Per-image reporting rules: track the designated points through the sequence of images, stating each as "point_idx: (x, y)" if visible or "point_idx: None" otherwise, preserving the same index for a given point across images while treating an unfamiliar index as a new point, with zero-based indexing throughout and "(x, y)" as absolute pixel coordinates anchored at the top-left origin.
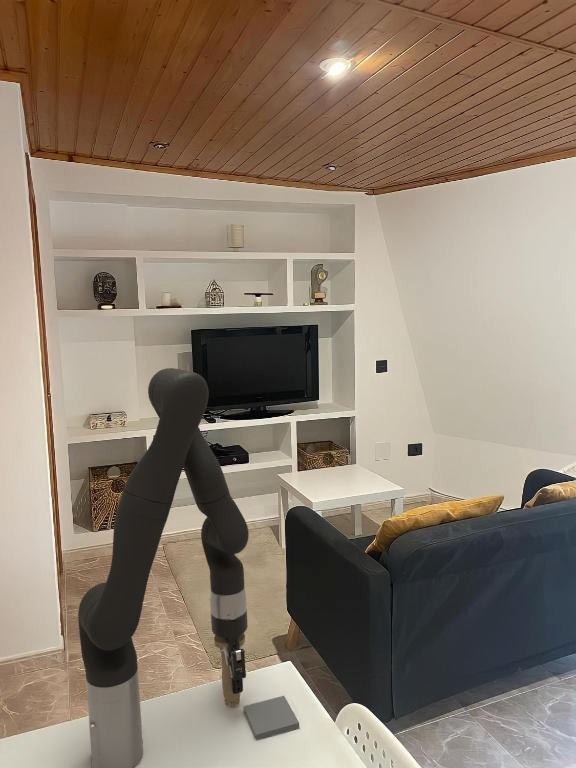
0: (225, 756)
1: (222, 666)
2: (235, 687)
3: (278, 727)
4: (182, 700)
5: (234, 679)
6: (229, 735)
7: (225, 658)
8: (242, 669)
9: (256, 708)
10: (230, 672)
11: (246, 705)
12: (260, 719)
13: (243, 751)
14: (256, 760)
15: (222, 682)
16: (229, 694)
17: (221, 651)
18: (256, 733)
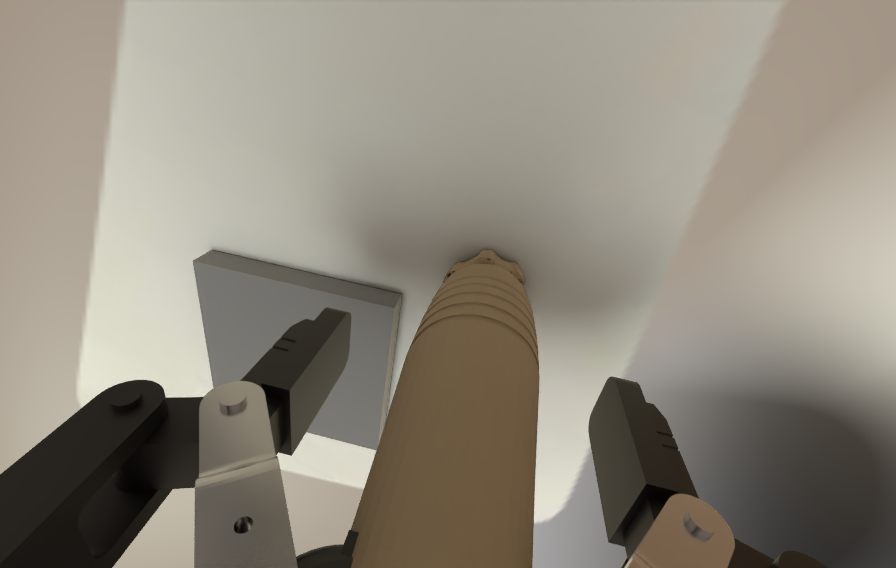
0: (147, 84)
1: (466, 404)
2: (276, 344)
3: (212, 347)
4: (722, 30)
5: (104, 391)
6: (276, 166)
7: (387, 510)
8: (108, 515)
9: (351, 342)
10: (266, 413)
11: (391, 320)
12: (278, 320)
13: (163, 175)
14: (106, 197)
15: (480, 307)
16: (439, 292)
17: (661, 520)
18: (200, 266)
